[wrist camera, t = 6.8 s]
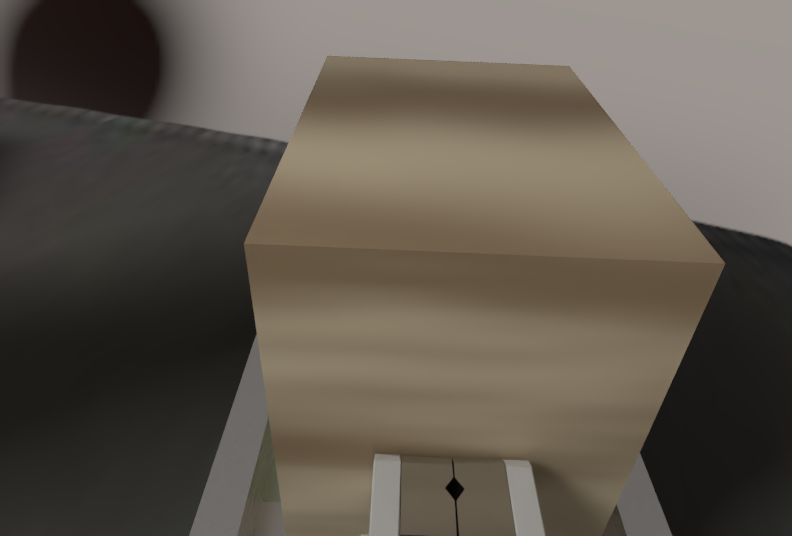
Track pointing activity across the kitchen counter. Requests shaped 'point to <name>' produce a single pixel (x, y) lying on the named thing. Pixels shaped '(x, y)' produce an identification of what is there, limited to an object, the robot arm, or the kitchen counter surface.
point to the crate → (466, 287)
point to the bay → (259, 491)
